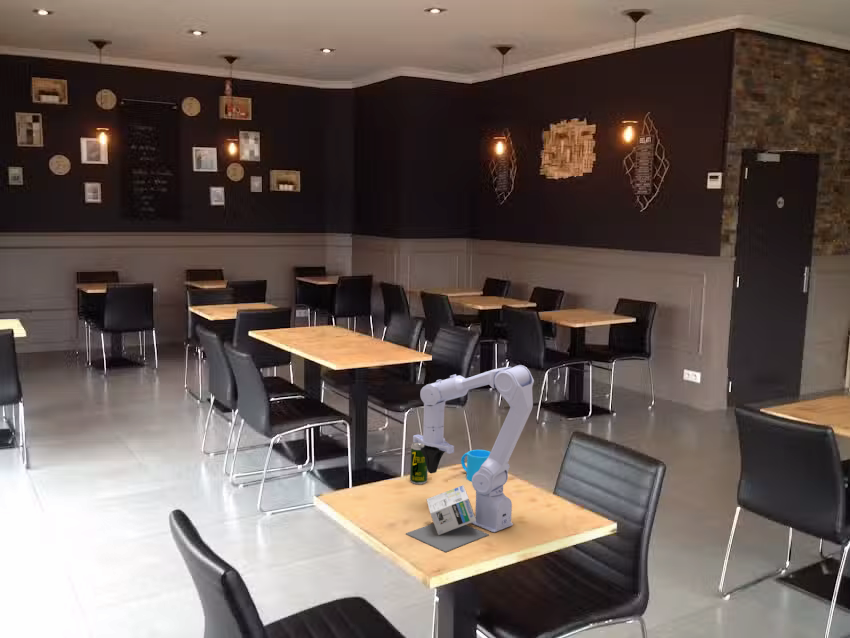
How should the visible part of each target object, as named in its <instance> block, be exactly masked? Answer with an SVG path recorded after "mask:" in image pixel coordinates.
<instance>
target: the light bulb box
mask: <svg viewBox="0 0 850 638" xmlns="http://www.w3.org/2000/svg"><path fill="white" fill-rule="evenodd" d="M425 500H426V503H427V507H428V511H429V514H430V516H431V519H432V523H434V525H435V528H436V530H437V533H438V535H440V534H443V533H446V532H448V531H451V530H453V529H456V528H459V527H461V526H464V525H469V524H472V522H474V521H476V518H475V512H474V509H473V507H472V504H471V500H470V498H469V496H468V493H467V491H466V488H465V485H464V484H463V485H460V486H458V487H455V488H451V489H449V490H447V491H445V492H441V493H439V494H436V495H433V496H432V497H428V498H426V499H425Z"/></svg>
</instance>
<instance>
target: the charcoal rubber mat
mask: <svg viewBox="0 0 850 638" xmlns="http://www.w3.org/2000/svg"><path fill="white" fill-rule="evenodd" d="M405 535H406V536H408V537H411V538H413V539H415V540H418V541H420V542H422V543H424V544H425V545H429V546H430V547H433V548H435V549H437V550H439V551H442V552H443V553H448V552H450V551H453V550H455V549H458V548H461V547H463V546H466V545H468V544H471V543H473V542H475V541H478V540H480V539H483V538H486V537H489V536H490V534H489V533H487V532H484V531H482V530H480V529H477V528H475V527H472V526H470V525H469V524H466V525H464V526H461V527H459V528H456V529H453V530H451V531H448V532H446V533H443V534H440V535H438V533H437V530H436V528H435V525H434V522H432V523H431V524H427V525H425V526H422V527H419V528H417V529H414V530H411V531H408V532H406V533H405Z"/></svg>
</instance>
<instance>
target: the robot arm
mask: <svg viewBox="0 0 850 638" xmlns="http://www.w3.org/2000/svg"><path fill="white" fill-rule="evenodd" d="M534 379H535V378H533V376H532V372H531V371H530V370H529V369H528V367H526V366H525V365H522V364H518V365H515V366H513V367H512V366H505V367H500V368H494V369H491V370H488V371H487V370H486V371H484V372H482V373H478V374H476V375H472V376H470V377H464V376H462V375H457V374H456V373H455V374H452V375H449V377H448V378H446V379H437V380H436V381H435V382H432V383H428V384H426V385H424V386H423V387H422V388H421V389H420V396H419V397H420V399H421V401H422V403H423V430H422V434H419V433H418V434H415V435H413V436H412V443H414V442H415V443H417V442H418V443H421V444H424V447H423V448H421V452H422V454H423V456H424V458H425V461H426V465H427V469H428V474H435V473H437V471H438V467H439V464H440V461H441V459H442V457H443V455H444V454H445V453H446V454H449V455H451V454H454V453H455V445H453V444H450V443H449V442H448V441H446V438H445V437H444V435H445V430H444V429H445V407H446V402H448V401H452V400H455V399H458V398H462V397H464V396H467V394H468V392H469V390H472V389H476V388H481V387H484V386H488V385H489V386H490V387H491V388H492V389H496V390H497V391H498V393H499V394H500V395H501V396H502V398H503V399H504V400H505V401H506V403H507V404H508V405H509V409H508V413H507V414H506V417H505V419H504V421H503V424H502V426H501V427H500V430H499V432H498V435H497V437H496V439H495V442H494V444H493V446H492V449H491V451H490V452H491V453H490V455H489V457H488V458H487V460H486V461H485V462H484V463H483V464H482V465H481V467H480V469H479V471H478V472H476V473H475V474H474V475H473V477H472V482H471V484H472V488H473V490H474V491H475V512H474V515H475V518H476V521H474V522H472V523H471V524H472V525H475V526H477V527H480V528H481V529H483V530H486V531H490V532H492V533H496V532H499V531H502V530H504V529H507V528H509V527H512V526H513V525H514V524H513V522H512V511H513V510H512V509H513V508H512V507H513V506H512V505H513V504H512V499H510V497H507V495H505V493H504V486H505V484H507V482H508V479H509V474H508V473H509V469H510V467H511V466H510V464H509V462H510V459H511V456H512V454H513V452H514V450H515V447H516V445H517V442H518V440H519V439H520V437H521V435H522V432H523V430H524V428H525V425H526V423H527V421H528V419H529V417H530V414H531V412H532V410H533V406H534V401H533V400H534V399H533V387H534V383H535V380H534Z"/></svg>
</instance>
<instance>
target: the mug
mask: <svg viewBox="0 0 850 638" xmlns="http://www.w3.org/2000/svg"><path fill="white" fill-rule="evenodd" d="M490 453H491V451H489V450H485V449H473V450H469V451H467V452H465V453H464V454H463V455H462V456H461V459H460V462H461V463H460V464H461V466H462V469H463V470H464V471H465V472H466V480H468V481H469V482H471V483H472V477H473V475H474V474H475V473H476V472H478V471H479V469H480V467H481V465H482V464H483V463H484V462H485V461H486V460H487V458H488V457H489V455H490ZM466 459H467V460H466ZM465 460H466V461H465ZM465 462H466V463H465Z"/></svg>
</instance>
